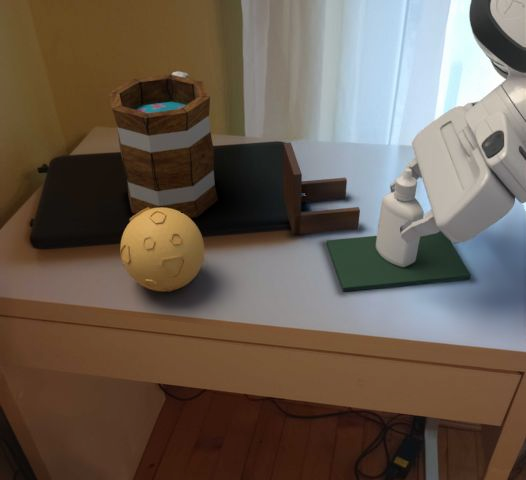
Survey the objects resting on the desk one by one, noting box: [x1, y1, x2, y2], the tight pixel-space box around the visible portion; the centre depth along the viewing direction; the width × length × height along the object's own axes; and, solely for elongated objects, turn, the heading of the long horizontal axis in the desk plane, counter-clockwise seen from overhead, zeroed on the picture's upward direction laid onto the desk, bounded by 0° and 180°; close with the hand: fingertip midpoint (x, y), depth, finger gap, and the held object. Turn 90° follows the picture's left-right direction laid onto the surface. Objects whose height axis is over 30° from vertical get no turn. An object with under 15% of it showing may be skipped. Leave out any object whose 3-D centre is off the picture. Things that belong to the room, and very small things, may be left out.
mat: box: [325, 231, 472, 292], centre depth 80 cm, size 16×10×1 cm, turn 97°
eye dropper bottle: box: [376, 168, 425, 267], centre depth 76 cm, size 4×6×12 cm
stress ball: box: [119, 207, 205, 292], centre depth 75 cm, size 10×10×10 cm
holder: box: [282, 141, 361, 236], centre depth 85 cm, size 9×9×9 cm
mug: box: [108, 71, 219, 219], centre depth 89 cm, size 20×14×15 cm
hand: (398, 214), depth 76 cm, fingers open, 8 cm apart
